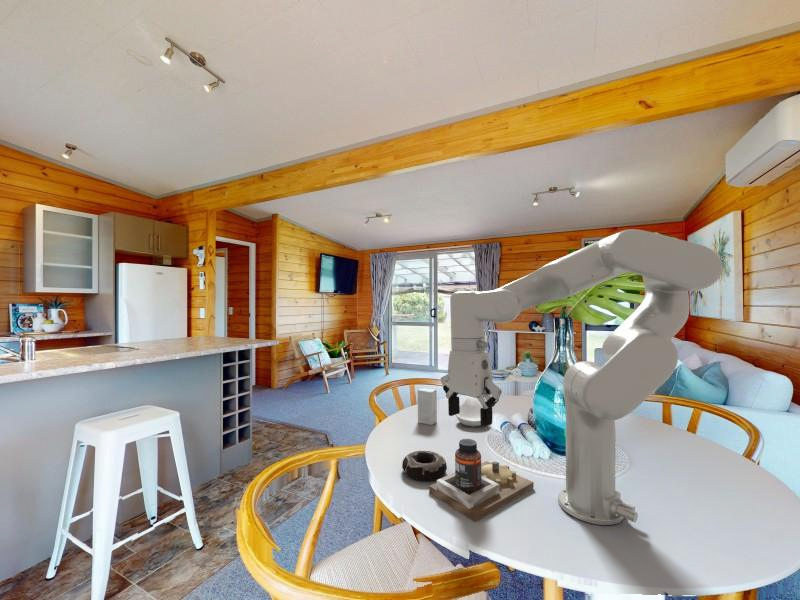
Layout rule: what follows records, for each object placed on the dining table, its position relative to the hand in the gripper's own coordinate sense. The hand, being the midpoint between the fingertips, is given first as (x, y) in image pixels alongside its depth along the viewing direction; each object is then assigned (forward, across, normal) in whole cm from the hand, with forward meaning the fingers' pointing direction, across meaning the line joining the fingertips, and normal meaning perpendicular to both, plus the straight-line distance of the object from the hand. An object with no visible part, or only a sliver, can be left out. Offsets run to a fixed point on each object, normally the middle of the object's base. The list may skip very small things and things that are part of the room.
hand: (469, 419), depth 82 cm
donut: (+18, +16, 0) cm, 24 cm away
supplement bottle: (+17, 0, 0) cm, 17 cm away
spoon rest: (+18, +37, -42) cm, 58 cm away
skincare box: (+18, +44, -25) cm, 54 cm away
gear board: (+18, +1, -4) cm, 18 cm away
